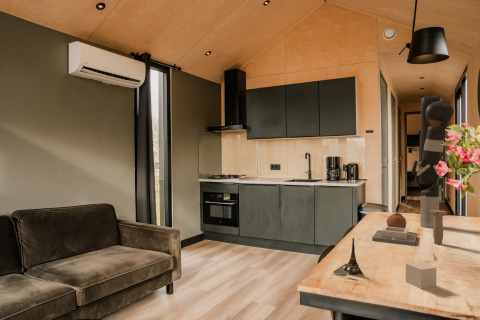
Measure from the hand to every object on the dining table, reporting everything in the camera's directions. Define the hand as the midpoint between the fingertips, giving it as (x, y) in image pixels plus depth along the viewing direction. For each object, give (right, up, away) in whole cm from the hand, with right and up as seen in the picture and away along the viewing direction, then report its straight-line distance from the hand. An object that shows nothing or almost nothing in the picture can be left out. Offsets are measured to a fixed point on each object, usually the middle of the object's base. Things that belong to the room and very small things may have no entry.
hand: (427, 184), depth 153 cm
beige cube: (-29, -28, -49) cm, 63 cm away
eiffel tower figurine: (-47, -28, -37) cm, 66 cm away
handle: (+5, -27, 0) cm, 28 cm away
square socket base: (-11, -27, +9) cm, 30 cm away
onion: (-3, -27, +25) cm, 37 cm away
